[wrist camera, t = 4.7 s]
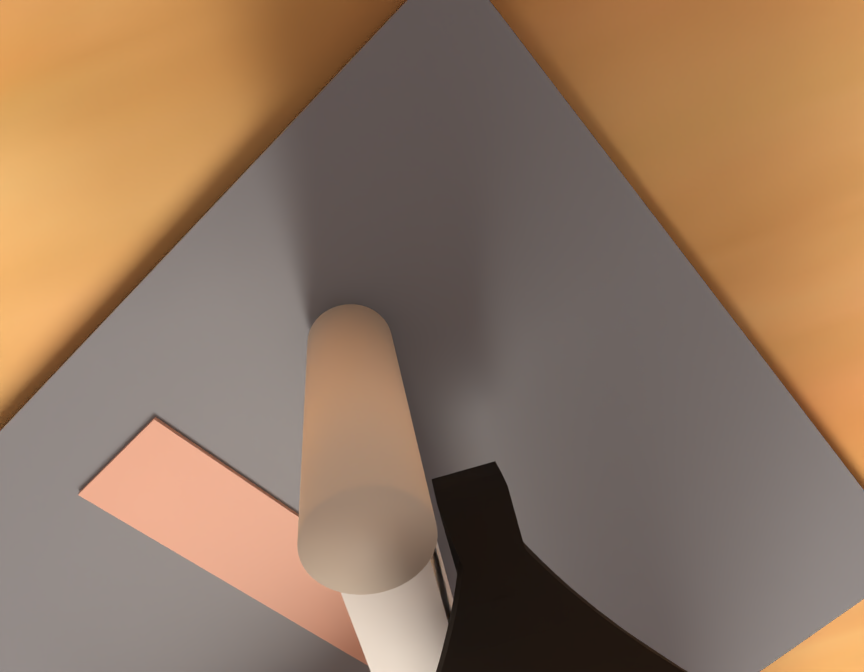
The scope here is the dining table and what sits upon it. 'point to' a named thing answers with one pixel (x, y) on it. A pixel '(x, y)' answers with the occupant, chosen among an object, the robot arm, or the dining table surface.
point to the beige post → (369, 495)
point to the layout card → (421, 392)
